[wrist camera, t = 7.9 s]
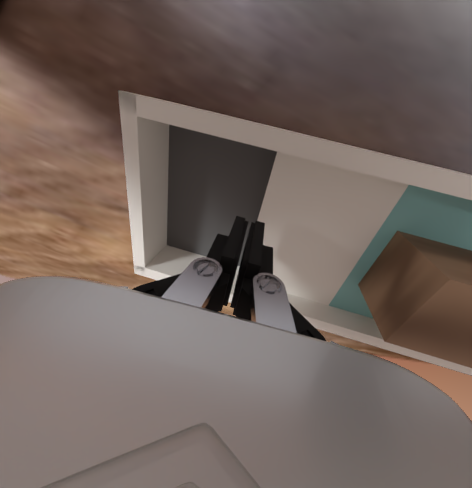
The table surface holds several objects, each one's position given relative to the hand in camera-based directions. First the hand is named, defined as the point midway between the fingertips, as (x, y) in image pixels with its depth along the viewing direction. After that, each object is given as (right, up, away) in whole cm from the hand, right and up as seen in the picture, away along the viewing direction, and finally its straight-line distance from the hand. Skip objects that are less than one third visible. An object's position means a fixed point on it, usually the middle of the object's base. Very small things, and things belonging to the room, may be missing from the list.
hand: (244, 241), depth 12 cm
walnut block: (+12, -2, +3) cm, 13 cm away
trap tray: (+7, +1, +5) cm, 9 cm away
